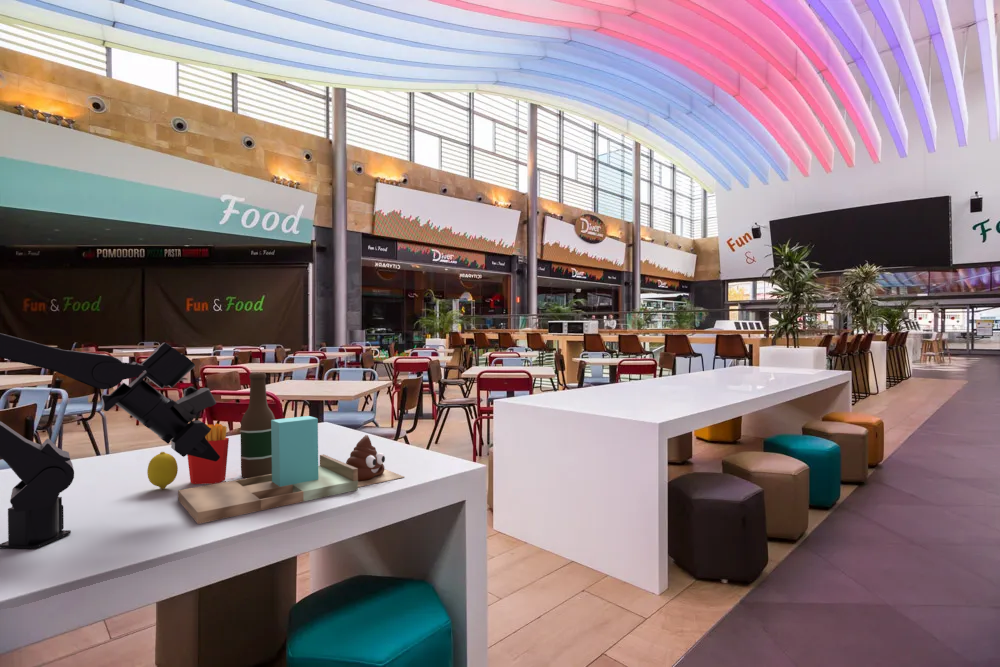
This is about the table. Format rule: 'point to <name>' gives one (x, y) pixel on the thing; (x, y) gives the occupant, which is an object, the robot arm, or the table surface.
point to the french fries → (208, 469)
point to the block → (294, 450)
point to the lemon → (162, 470)
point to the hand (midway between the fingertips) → (218, 459)
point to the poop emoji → (366, 460)
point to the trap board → (265, 492)
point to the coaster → (380, 478)
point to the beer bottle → (256, 431)
